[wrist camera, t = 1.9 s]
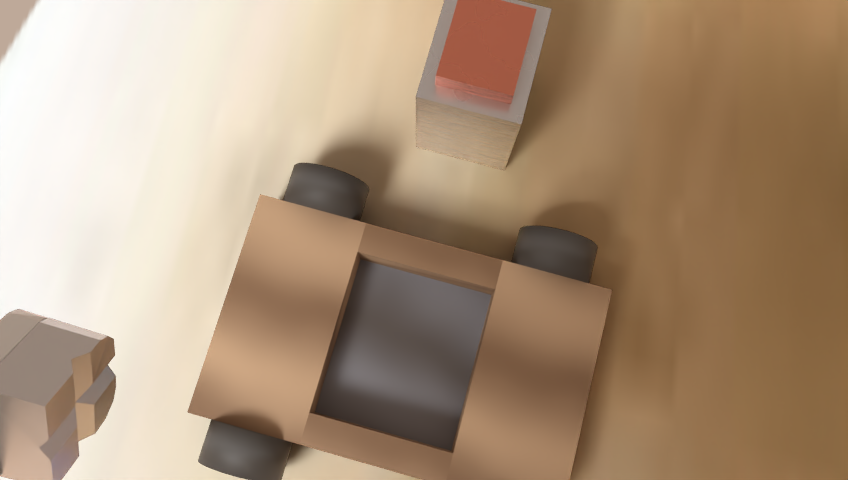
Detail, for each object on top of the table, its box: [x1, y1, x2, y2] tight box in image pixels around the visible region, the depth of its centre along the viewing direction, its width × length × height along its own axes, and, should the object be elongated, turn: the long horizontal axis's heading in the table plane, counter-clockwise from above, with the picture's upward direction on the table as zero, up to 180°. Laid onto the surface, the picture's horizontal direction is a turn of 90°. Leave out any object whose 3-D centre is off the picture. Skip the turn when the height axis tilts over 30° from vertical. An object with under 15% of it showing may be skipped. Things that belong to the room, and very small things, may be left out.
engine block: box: [416, 0, 552, 170], centre depth 38 cm, size 6×5×8 cm
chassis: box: [188, 163, 612, 480], centre depth 37 cm, size 15×18×4 cm
